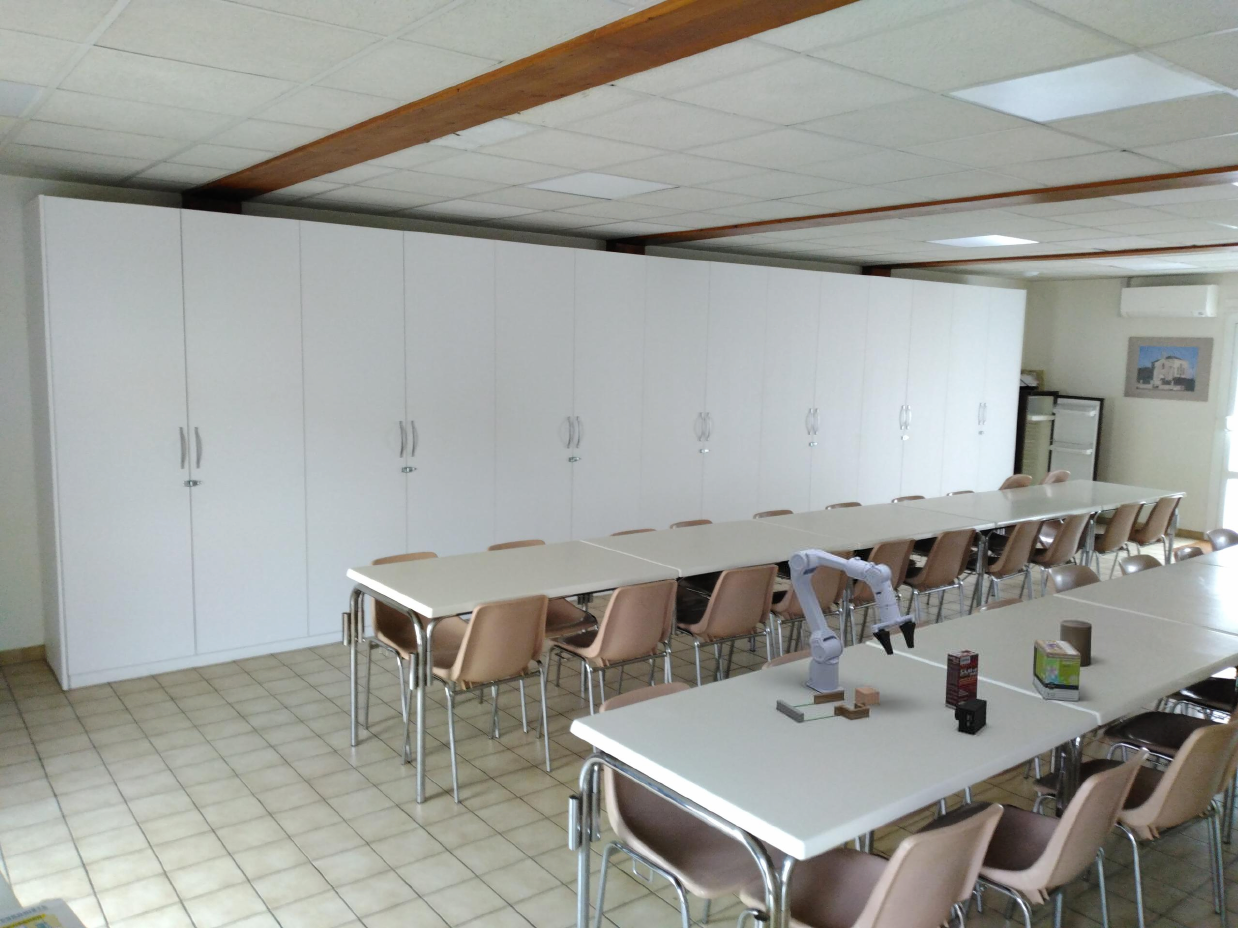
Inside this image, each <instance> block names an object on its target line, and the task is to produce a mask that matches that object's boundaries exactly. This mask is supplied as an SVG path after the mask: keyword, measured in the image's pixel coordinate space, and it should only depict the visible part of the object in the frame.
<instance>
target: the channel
mask: <svg viewBox="0 0 1238 928" xmlns="http://www.w3.org/2000/svg"><path fill="white" fill-rule="evenodd" d="M844 700H845V690H844V691H836V692H830V693H818V694H813V703H814V705H820V704H826V703H827V704H828V703H833V702H839V701H844ZM853 705H854V707H853V709H852V708H850V707H848V706H846V705H845V704H839V705H834V706H833V714H834V715H835V717H837V716H842V717H844V718H846V719H848V720H850V721H853V720H860V719H863V718H869V717H870V707H869V706H865V702H863V701H862V702H856V701H855V702H854V704H853Z"/></svg>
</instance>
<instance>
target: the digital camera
mask: <svg viewBox="0 0 1238 928" xmlns="http://www.w3.org/2000/svg"><path fill="white" fill-rule="evenodd" d="M987 707H988V705H987V699H986V700H985V699H980V698H978V697H977V698H970V699H969V700H968V701H966V702H965V703H964V704H963V705H960V704H957V706H956V708H955V709H954V719H955V721H958V727H957V728H958V729H957V730H958V732H959V733H962V734H966V735H971V736H975V735H976V734H977V733H978V732H979V731H980V730H982V729H983V728H984V727H985V726H986V724H987Z"/></svg>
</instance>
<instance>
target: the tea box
mask: <svg viewBox="0 0 1238 928" xmlns="http://www.w3.org/2000/svg"><path fill="white" fill-rule="evenodd" d="M1033 645H1034V646H1033V661H1032V662H1033V664H1032V666H1033V667H1032V684H1033V686H1034V687H1035V689H1037V691H1038V692H1039V693H1040V695H1041V696H1042V697H1043V698H1044V700H1052V701H1053V700H1054V701H1068V702H1078V701H1079V691H1080V689H1079V687H1080V675H1081V666H1080V660H1081V654H1080V653H1079V652H1078V651H1077V650H1075V649H1074V648H1073V647H1072V646H1071V645H1070V644H1069V643H1068V642H1067V641H1060V640H1051V639H1050V640H1048V639H1034V644H1033Z"/></svg>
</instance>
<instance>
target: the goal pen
mask: <svg viewBox="0 0 1238 928" xmlns="http://www.w3.org/2000/svg"><path fill="white" fill-rule="evenodd" d="M809 705H815V703H814V701H813V702H806V703H799V704H793V705H791V704H789V703H787V702H786V701H784V700H782V699H777V700H776V709H777V710H778V711H780V712H782V713H783V714H785V715H786V716H788V717H789V718H791V719H792V720H794V721H796V722H798V723H804V722H809V721H814V720H815V721H816V720H821V719H826V718H833V717H836V715H834V713H833V714H828V715H822V716H816V717H810V718H805V713H804V712H803V711H801V710H800V709H797V708H799V707H804V706H809Z"/></svg>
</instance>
